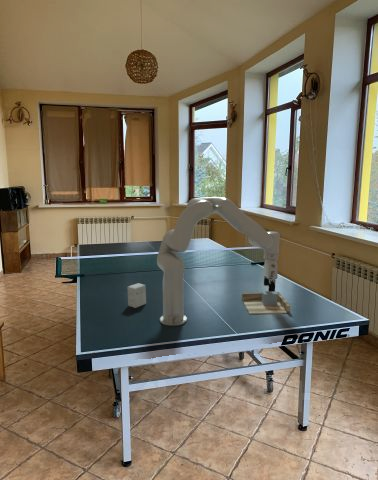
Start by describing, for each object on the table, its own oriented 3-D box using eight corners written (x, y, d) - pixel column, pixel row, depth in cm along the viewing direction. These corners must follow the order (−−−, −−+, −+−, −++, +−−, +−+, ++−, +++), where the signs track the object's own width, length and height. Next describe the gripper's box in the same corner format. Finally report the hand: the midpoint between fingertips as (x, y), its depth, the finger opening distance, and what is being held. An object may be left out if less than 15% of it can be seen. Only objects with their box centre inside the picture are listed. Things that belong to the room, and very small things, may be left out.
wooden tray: (289, 313, 184) (290, 305, 183) (249, 314, 183) (249, 306, 182) (278, 299, 203) (278, 292, 203) (242, 300, 203) (242, 292, 202)
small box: (139, 301, 201) (138, 282, 199) (146, 303, 198) (145, 284, 196) (127, 305, 195) (127, 286, 193) (135, 308, 192) (134, 288, 190)
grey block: (263, 305, 193) (264, 294, 192) (261, 302, 197) (262, 291, 196) (277, 305, 193) (277, 294, 192) (274, 302, 197) (275, 291, 196)
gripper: (283, 259, 182) (281, 293, 185) (273, 252, 199) (272, 283, 202) (267, 259, 182) (266, 293, 185) (259, 252, 199) (258, 283, 202)
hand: (269, 288), depth 193 cm, fingers open, 9 cm apart
